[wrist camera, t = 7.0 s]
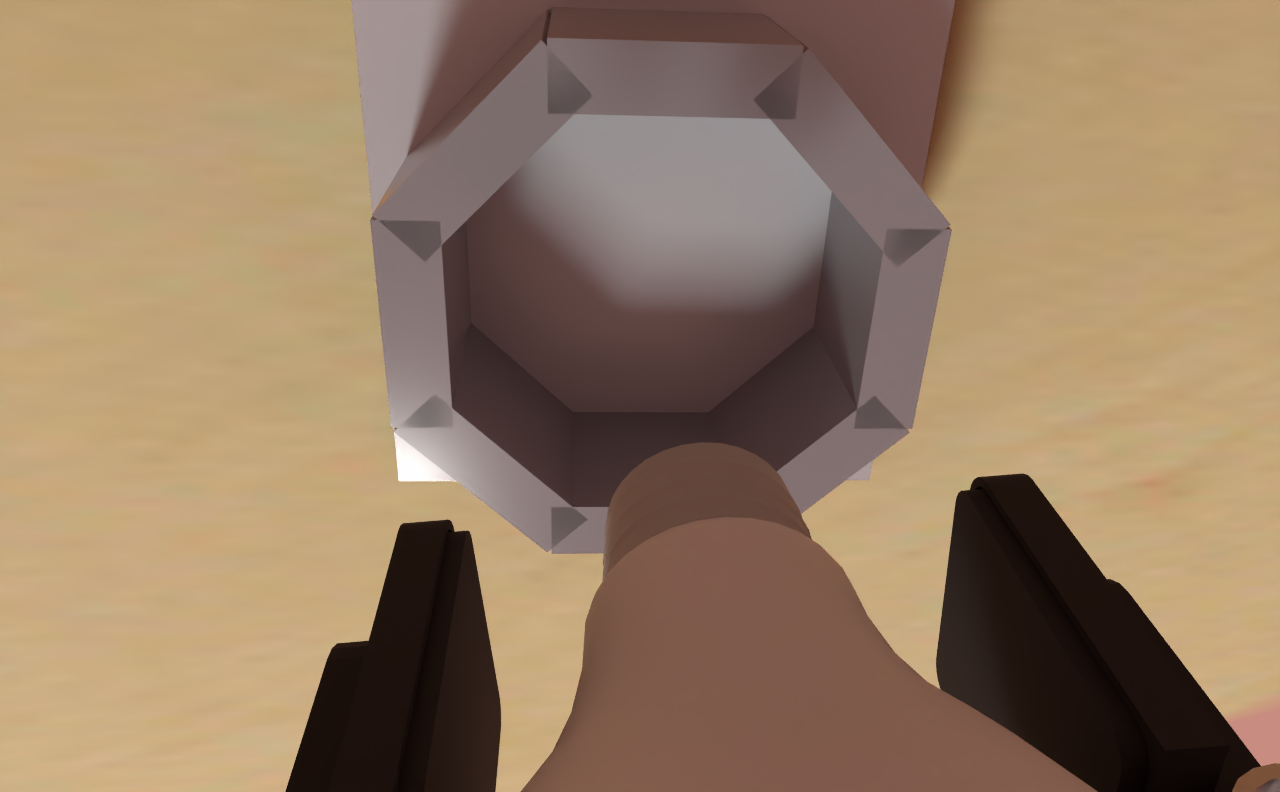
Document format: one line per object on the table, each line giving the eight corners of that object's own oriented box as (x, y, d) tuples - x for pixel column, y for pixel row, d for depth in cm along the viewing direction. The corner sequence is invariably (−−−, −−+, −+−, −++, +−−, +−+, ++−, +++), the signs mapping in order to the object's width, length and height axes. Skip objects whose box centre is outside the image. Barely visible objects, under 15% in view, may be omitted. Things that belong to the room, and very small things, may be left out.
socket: (942, -28, 20) (1045, 0, 16) (859, 459, 26) (917, 579, 21) (357, -49, 19) (292, -25, 15) (405, 459, 25) (368, 584, 21)
